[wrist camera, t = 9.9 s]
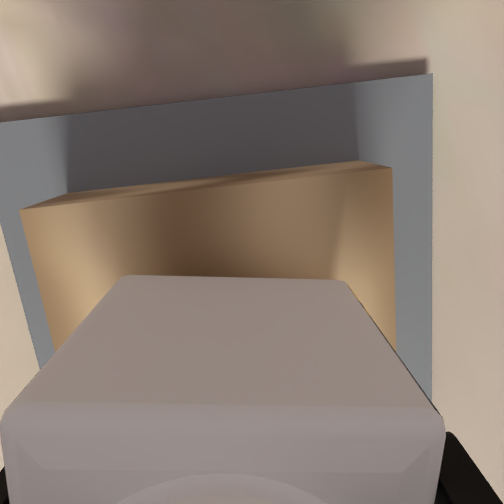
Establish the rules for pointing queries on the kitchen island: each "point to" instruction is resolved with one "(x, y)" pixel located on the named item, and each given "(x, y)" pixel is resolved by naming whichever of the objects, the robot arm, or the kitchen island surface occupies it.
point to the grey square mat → (238, 171)
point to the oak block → (219, 236)
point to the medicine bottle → (224, 402)
